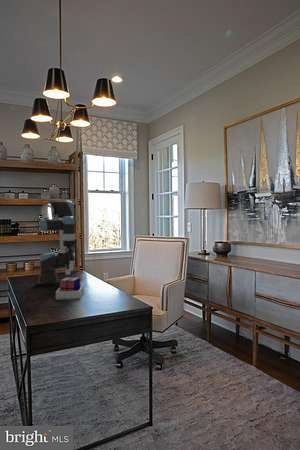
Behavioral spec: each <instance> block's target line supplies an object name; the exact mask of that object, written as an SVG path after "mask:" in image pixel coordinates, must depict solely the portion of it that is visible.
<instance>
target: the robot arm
mask: <svg viewBox="0 0 300 450" xmlns="http://www.w3.org/2000/svg"><path fill="white" fill-rule="evenodd" d="M40 214H41V215H42V216H41V219H39V221H38V222H39V223H38V226H39V227H38V230H39V231H40V232H52V231H53V232H54V231H59V250H58V251H57V253H56V252H52V251H51V252H46V253H43V254H40V256H39V263H40V264H39V266H40V271H39V273H40V274H39V278H38V284H39V285H53V284H57V283H59V277H58V275H57V271H56V270H57V269H58V270H59V269H65V275H71V271H74V266H75V262H76V253H75V252H74V249H73V248H74V247H75V246H76V241H75V239H76V234H75V232H76V230H75V229H76V228H75V227H76V226H75V217H74V215H75V207H74V203H73V201H72V200H67V199H66V200H65V199H64V200H61V199H60V200H59V199H57V200H55V199H53V200H49V201H47V202H46V201H45V203H43V204H42V206H41V208H40ZM54 216H56V217H57V219H54Z"/></svg>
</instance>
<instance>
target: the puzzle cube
mask: <svg viewBox="0 0 300 450" xmlns="http://www.w3.org/2000/svg"><path fill="white" fill-rule="evenodd" d="M80 285H81V277H65V278H63V279H59V288H60V291H79V289H80Z"/></svg>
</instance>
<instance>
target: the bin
mask: <svg viewBox="0 0 300 450" xmlns="http://www.w3.org/2000/svg"><path fill="white" fill-rule="evenodd" d="M84 287H85V286H84V284H80V289H79V291H60V287H59V288H57V290H56V291H55V300H56V301H61V300H64V301H65V299H66V300H81V298H82V296H83V294H84V292H85V291H84V289H85V288H84Z"/></svg>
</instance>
